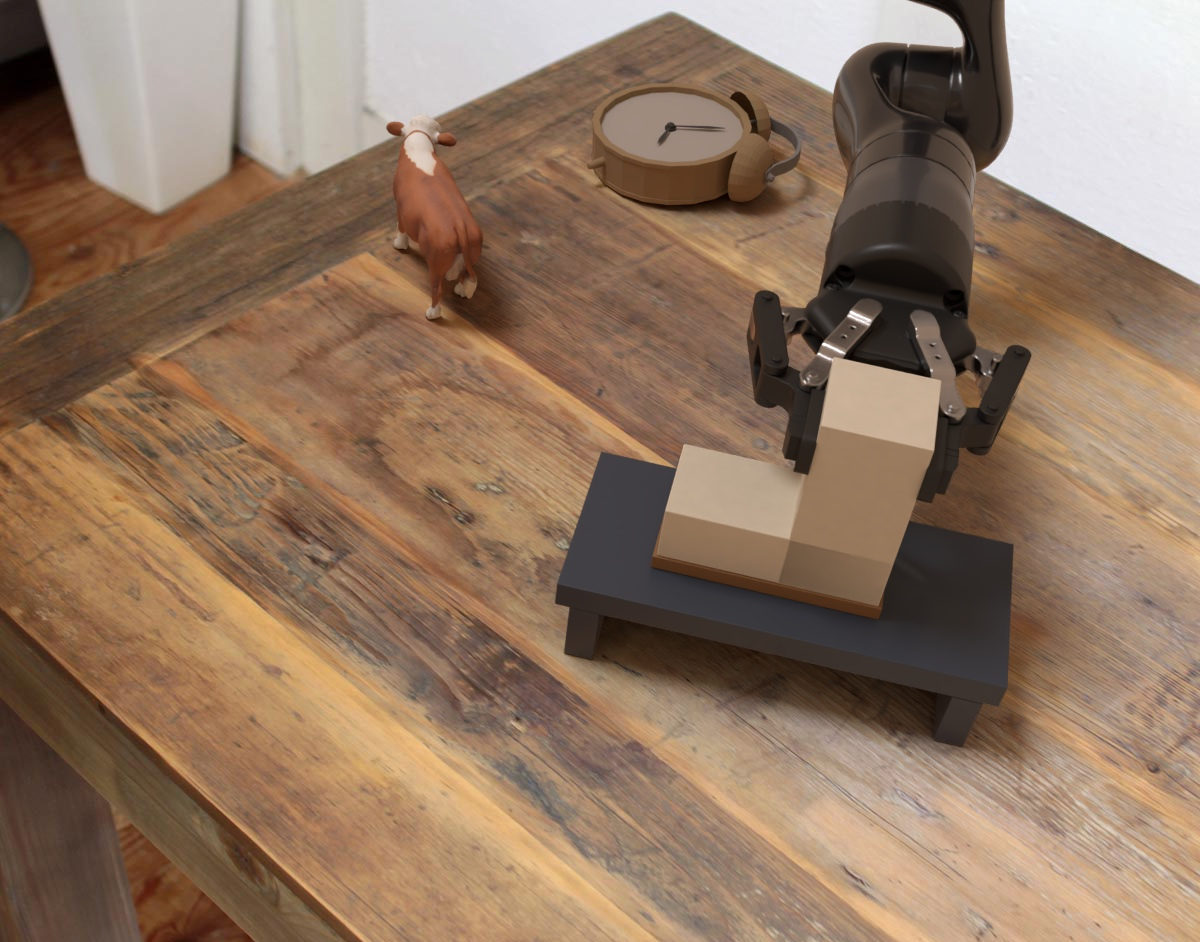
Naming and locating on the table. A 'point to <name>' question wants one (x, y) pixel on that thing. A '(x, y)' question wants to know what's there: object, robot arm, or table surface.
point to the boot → (811, 499)
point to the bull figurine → (434, 209)
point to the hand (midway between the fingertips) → (867, 473)
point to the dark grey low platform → (796, 629)
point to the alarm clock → (686, 144)
